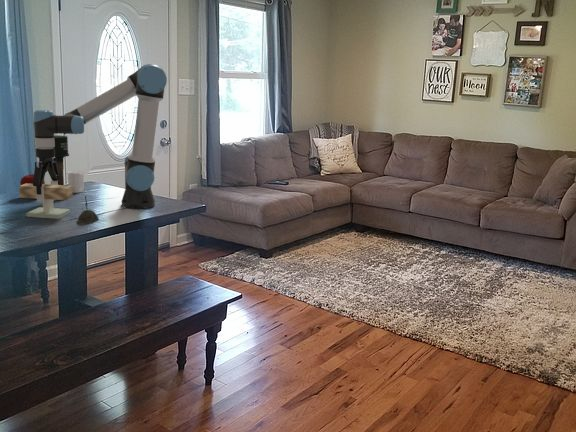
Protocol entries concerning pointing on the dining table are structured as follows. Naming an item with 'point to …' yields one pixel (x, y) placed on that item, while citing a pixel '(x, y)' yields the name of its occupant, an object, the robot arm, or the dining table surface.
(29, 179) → the apple
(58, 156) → the stick grenade
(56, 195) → the beam
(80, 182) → the white cup
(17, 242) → the dining table surface
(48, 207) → the fulcrum
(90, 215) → the sword in stone
